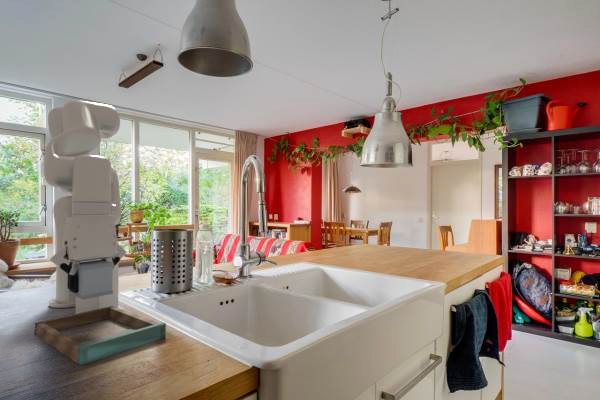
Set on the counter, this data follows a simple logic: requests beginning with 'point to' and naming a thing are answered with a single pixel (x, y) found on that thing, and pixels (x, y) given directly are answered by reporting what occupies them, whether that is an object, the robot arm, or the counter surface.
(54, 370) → the counter surface
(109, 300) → the milk carton
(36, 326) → the bay
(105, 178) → the robot arm
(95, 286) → the grey block
